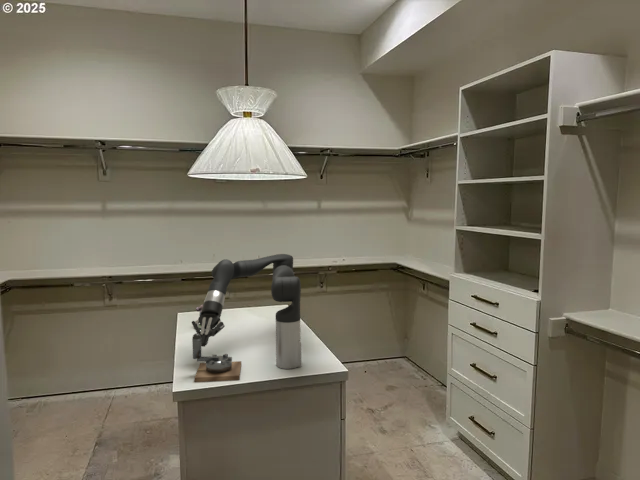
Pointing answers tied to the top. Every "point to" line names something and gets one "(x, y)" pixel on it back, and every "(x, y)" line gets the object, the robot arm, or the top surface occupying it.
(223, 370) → the grey bent piece
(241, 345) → the top surface
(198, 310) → the figurine
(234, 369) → the walnut cap plate
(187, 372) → the top surface
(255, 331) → the top surface
